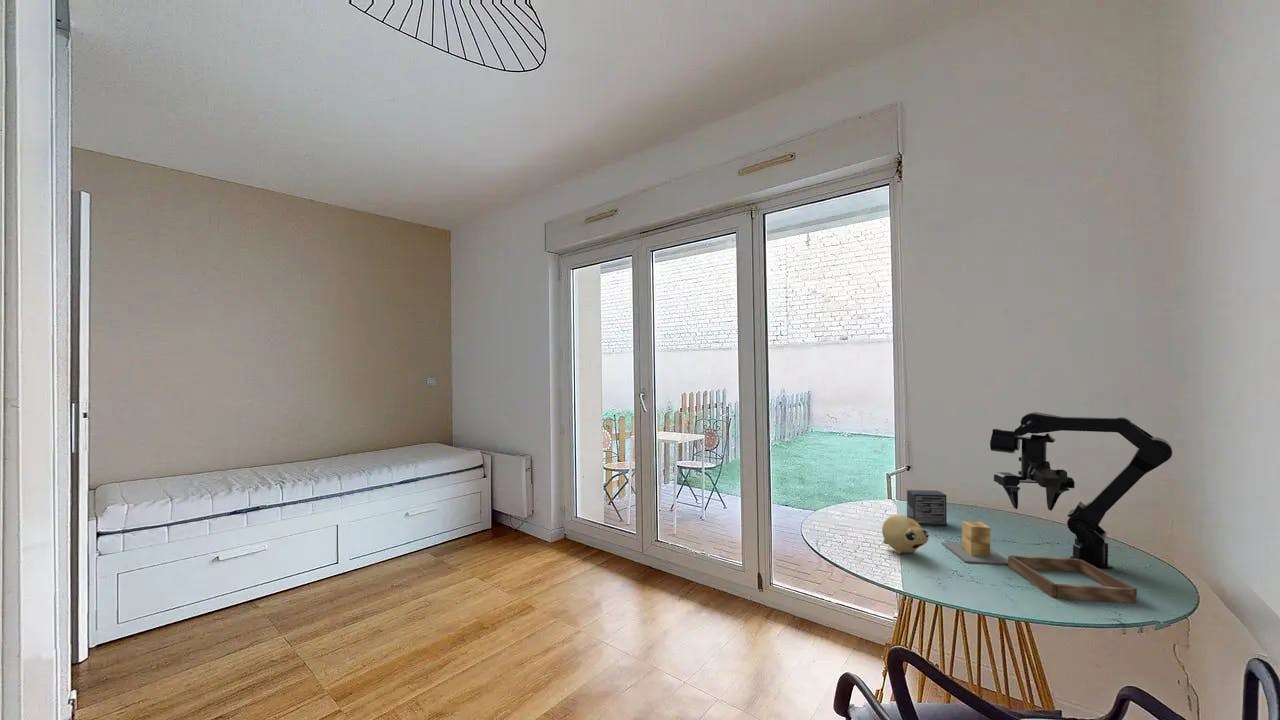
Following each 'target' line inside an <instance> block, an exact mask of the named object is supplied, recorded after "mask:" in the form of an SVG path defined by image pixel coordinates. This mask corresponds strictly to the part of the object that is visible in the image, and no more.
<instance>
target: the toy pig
mask: <svg viewBox="0 0 1280 720" xmlns="http://www.w3.org/2000/svg"><path fill="white" fill-rule="evenodd" d="M881 531H882V532H881V533H882V537H883V541H882V543H883V544H884V545H888V546H890V547H891V549H893V550H894V551H895V554H896V555H901V554H902V553H905V554H909V553H912V554H914V553H916V550H918V549H919V548H920V547H922V546H924V545H926V544H927V543H928V542H929V537H930V536H929V533H928V531H927V530H925V529H924V528H922V529H920V528H919V527H918V526H917V525H916V524H915V523H914V522H912V521H911V520H910V519H909V518H907V515H904V514H903V513H896V514H892V515H890V516H888V517H887V518H886V519H885V521H884V522H883V524H882V527H881Z"/></svg>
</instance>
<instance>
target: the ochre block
mask: <svg viewBox="0 0 1280 720" xmlns="http://www.w3.org/2000/svg"><path fill="white" fill-rule="evenodd" d="M961 527H962V528H961V543H962V549H963V550H965V551H966V552H967V553H969V554H970V555H975V556H990V548H991V527H990V526H988V525H987V524H985V523H984V522H982V521H968V520H967V521H966V520H962V525H961Z"/></svg>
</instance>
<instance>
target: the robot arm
mask: <svg viewBox="0 0 1280 720" xmlns="http://www.w3.org/2000/svg"><path fill="white" fill-rule="evenodd" d="M1059 431H1061V432H1062V431H1067V432H1068V431H1070V432H1093V433H1094V432H1096V433H1097V432H1098V433H1100V432H1101V433H1118V434H1119V435H1121V436H1122V437H1123V438H1125V440H1127V441H1128V442H1129V443H1131V444H1132V445H1133V446H1134V447H1136V448H1137V449H1136V451H1135V453H1134V455H1133V456H1132V458H1131V460H1130V461H1129V462H1128V464H1127V465H1126V466H1125V467H1124V468H1123V469H1122V470H1121V471H1120V472H1119V473H1118V474H1117V475H1116V476H1114V478H1113V479H1112V480H1111V481H1110V482H1109V483H1108V484H1107V485H1105V487H1104V488H1103V489H1102V490H1101V491H1100V492H1099V493H1098V495H1096V496H1095V497H1094V498H1093V499H1092V500H1090V501H1089V502H1088V503H1086V504H1085V503H1083V502H1082V501H1080V500H1079V502H1078V504H1077V505H1076V506H1075V508H1072V509H1071V510H1070V511H1069V512H1068V514H1067V517H1068V520H1067V522H1066V525H1067V528H1068V530H1069V531H1070V532H1071V533H1072V534H1073V535H1075V538H1074V543H1073V544H1072V556H1071V555H1070V558H1073V559H1079V560H1084V561H1085V562H1087V563H1089V564H1091V565H1093V566H1095V567H1097V568H1098V569H1110V570H1111V569H1113V566H1112V565H1110V564H1109V543H1108V542H1105V541H1106V537H1107V531H1106V530H1104V529H1103V527H1101V526H1100V523H1101V522H1102V520H1103V518H1104V516H1105V515H1106V513H1107V512H1108V511H1109V510H1110V509H1112V507H1113V506H1114V505H1115V504H1117V502H1118V501H1119V500H1120V499H1121V498H1123V496H1125V494H1126V493H1127V492H1129V490H1131V488H1133V486H1134V485H1136V484H1137V482H1139V481H1140V479H1141V478H1143V477H1144V476H1145V475H1146V474H1148V473H1150V472H1151V471H1153V470H1154V469H1157V468H1158V467H1160V466H1162V465H1163V464H1164V463H1166V462H1167V461H1169V460H1170V459H1171V458H1172V456H1173V449H1172V445H1171V444H1170V442H1169V441H1167V440H1166V439H1164V438H1161V437H1157V436H1153V435H1152V434H1150V433H1148V432H1147V431H1146V430H1145V429H1142V428H1141V427H1140V426H1138V425H1137V424H1135V423H1133V422H1132V421H1131V419H1129V418H1127V417H1122V416H1118V417H1088V416H1084V417H1083V416H1062V415H1061V416H1060V415H1055V414H1050V413H1044V412H1037V411H1035V412H1029V413H1027V414H1025V415H1023V416H1022V417H1021V419H1020V425H1019V426H1018V427H1017V428H1014V430H1006V429H1000V428H993V429H992V433H991V437H990V440H989V446H990V447H989V448H990V451H991V452H997V453H998V452H999V453H1007V454H1015V452H1016V451H1018V452H1019V451H1020V448H1021V456H1020V457H1019V456H1018V461H1019V462H1021V463H1020V464H1021V466H1020V469H1021V470H1018V473H1017V474H1018V475H1016V474H1014V473H1012V472H1005V471H1004V472H1002V471H996V472H995V474H994V475H993V482H995V483H998V485H1000V486H1002V487H1003V489H1004V491H1005V492H1006V495H1007V496H1008V499H1009V501H1010V503H1011V505H1012V507H1013V509H1015V510H1018V508H1019V491H1020V490H1021V487H1019V485H1020V484H1021V483H1023V484H1038V486H1039V487H1041V488H1045V492H1046V493H1045V494H1046V504H1047V505H1046V506H1047V510H1049V511H1053V509H1054V507H1055V506H1056V503H1057V501H1058V499H1059V498H1060V496H1061V494H1064V493H1065V492H1069V491H1070V489H1075V487H1076V482H1075V480H1074V479H1073V477H1070V476H1068V471H1067V470H1065V469H1058V468H1057V469H1051V464H1050V460H1049V461H1048V460H1047V443H1051V444H1053V443H1055V442H1056V439H1055V438H1053V437H1052V436H1051V434H1050V433H1053V432H1059ZM1027 434H1031V435H1030V436H1025V435H1027ZM1041 434H1044V435H1041Z"/></svg>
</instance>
